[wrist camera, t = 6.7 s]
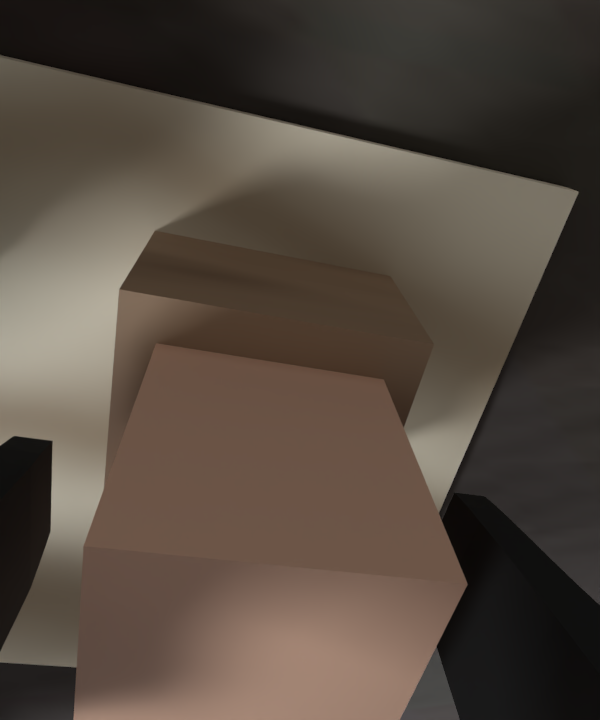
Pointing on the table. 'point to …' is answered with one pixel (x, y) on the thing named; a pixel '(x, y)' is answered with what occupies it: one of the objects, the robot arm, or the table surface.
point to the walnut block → (261, 318)
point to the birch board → (237, 228)
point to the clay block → (261, 551)
